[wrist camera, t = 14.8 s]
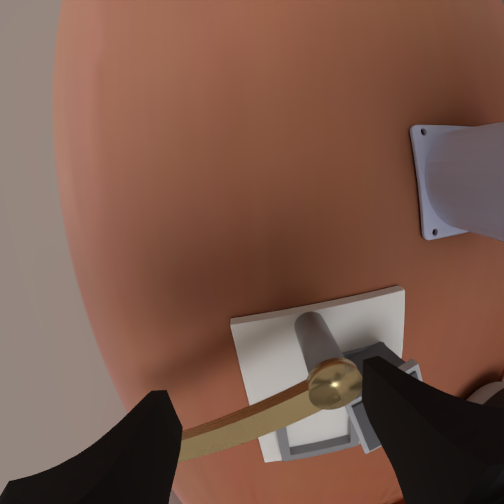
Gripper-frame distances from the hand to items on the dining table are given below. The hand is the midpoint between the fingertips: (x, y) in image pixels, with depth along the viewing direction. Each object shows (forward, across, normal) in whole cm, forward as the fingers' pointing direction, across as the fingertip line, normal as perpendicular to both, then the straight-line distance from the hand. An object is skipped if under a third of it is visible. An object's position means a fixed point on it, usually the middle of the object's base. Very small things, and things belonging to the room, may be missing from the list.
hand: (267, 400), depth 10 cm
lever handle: (+4, +2, +4) cm, 6 cm away
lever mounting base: (+10, -4, +8) cm, 14 cm away
